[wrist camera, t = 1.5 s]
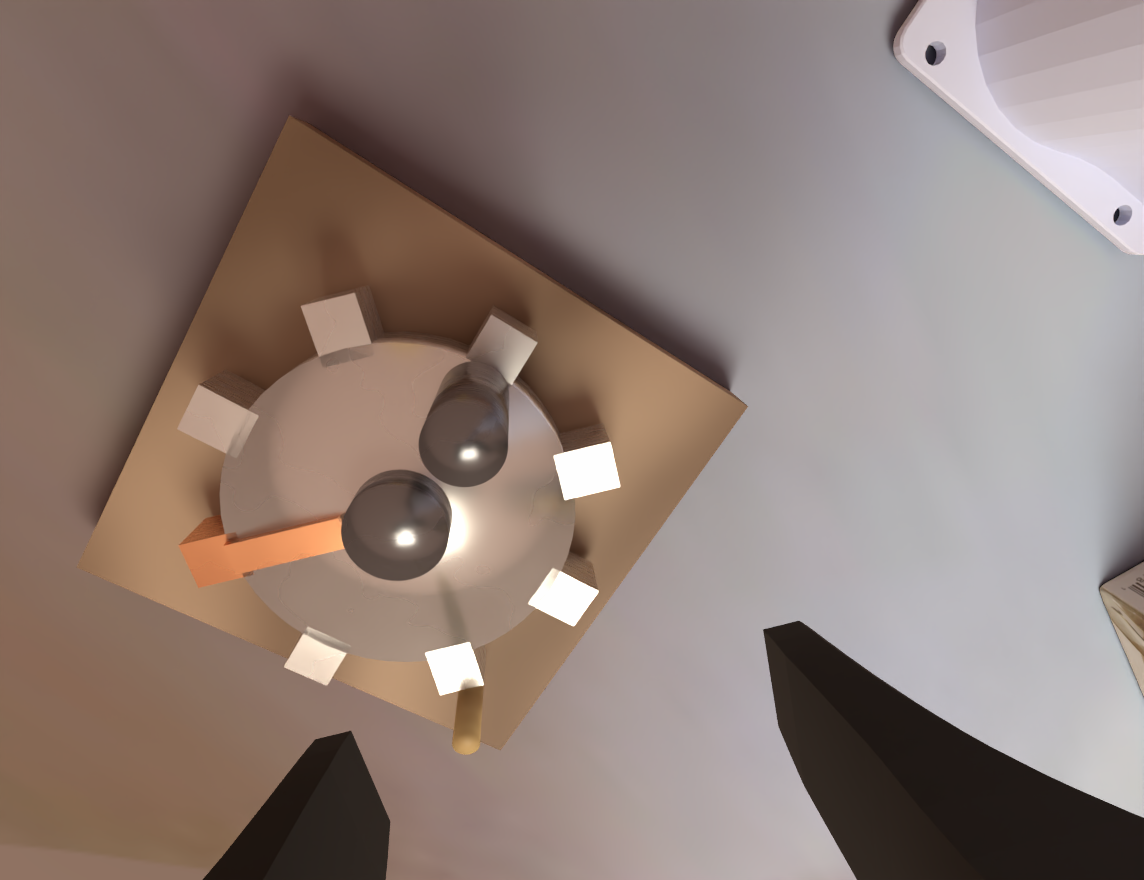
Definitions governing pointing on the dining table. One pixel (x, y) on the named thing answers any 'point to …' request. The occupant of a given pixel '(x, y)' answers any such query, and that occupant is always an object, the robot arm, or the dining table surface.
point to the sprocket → (397, 493)
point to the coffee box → (1128, 615)
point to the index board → (423, 305)
